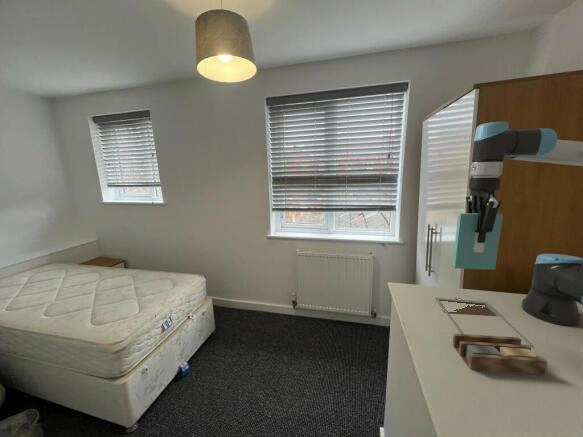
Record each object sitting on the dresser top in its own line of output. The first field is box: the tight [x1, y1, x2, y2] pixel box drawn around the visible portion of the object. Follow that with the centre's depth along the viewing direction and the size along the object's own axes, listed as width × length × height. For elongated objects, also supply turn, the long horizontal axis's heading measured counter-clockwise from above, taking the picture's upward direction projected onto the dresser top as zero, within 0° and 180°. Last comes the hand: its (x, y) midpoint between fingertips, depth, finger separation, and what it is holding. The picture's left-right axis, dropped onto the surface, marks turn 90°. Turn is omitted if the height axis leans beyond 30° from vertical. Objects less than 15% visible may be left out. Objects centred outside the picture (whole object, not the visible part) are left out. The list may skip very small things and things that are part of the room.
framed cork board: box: [434, 297, 536, 349], centre depth 90 cm, size 19×2×30 cm
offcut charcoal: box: [466, 345, 502, 361], centre depth 69 cm, size 7×3×4 cm, turn 83°
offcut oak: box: [500, 347, 538, 358], centre depth 67 cm, size 7×3×4 cm, turn 83°
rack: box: [451, 333, 548, 376], centre depth 70 cm, size 18×9×5 cm, turn 83°
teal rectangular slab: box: [451, 212, 504, 271], centre depth 79 cm, size 12×2×18 cm, turn 83°
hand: (475, 250), depth 79 cm, fingers closed on teal rectangular slab, 2 cm apart
